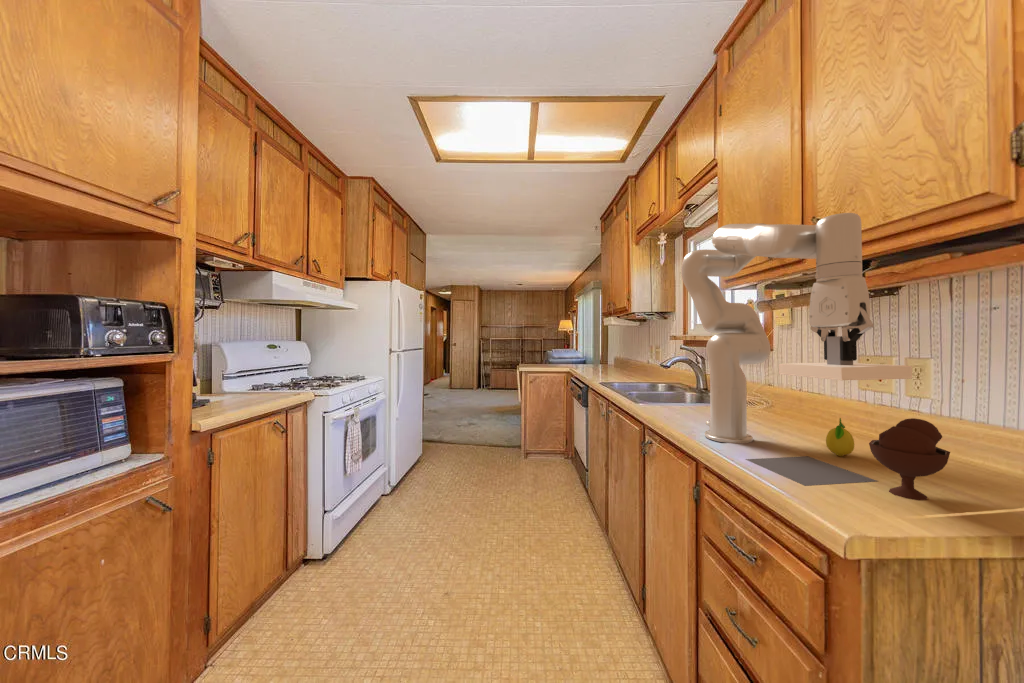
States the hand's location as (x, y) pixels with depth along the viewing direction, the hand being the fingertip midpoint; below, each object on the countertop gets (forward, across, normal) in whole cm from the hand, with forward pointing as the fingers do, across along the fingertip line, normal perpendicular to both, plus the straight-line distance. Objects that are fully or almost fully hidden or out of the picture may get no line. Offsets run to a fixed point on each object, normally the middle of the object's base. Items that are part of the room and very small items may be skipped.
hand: (840, 359), depth 83 cm
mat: (+26, -6, -2) cm, 26 cm away
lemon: (+26, -14, +14) cm, 33 cm away
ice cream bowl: (+26, +9, +5) cm, 28 cm away
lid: (+4, 0, 0) cm, 4 cm away
